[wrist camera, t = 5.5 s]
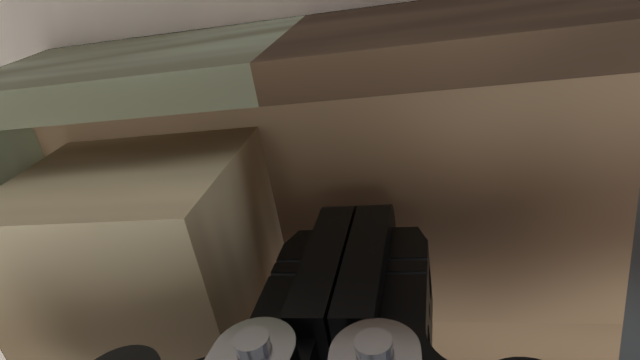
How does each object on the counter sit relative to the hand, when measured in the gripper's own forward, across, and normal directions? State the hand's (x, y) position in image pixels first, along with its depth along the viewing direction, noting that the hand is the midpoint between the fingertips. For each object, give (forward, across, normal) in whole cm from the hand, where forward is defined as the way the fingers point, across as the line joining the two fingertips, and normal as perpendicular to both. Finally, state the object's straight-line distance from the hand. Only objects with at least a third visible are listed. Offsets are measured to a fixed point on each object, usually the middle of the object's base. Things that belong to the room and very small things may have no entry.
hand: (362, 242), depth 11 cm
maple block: (+1, +5, 0) cm, 5 cm away
